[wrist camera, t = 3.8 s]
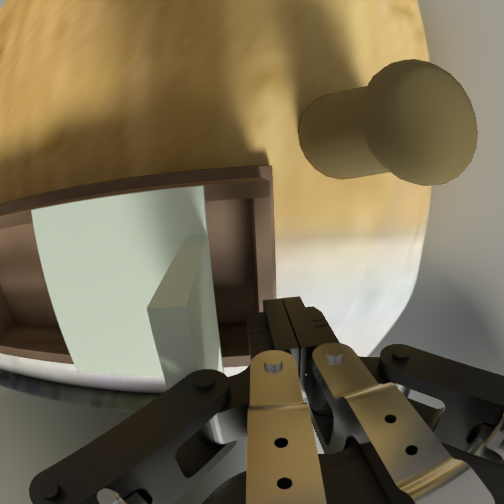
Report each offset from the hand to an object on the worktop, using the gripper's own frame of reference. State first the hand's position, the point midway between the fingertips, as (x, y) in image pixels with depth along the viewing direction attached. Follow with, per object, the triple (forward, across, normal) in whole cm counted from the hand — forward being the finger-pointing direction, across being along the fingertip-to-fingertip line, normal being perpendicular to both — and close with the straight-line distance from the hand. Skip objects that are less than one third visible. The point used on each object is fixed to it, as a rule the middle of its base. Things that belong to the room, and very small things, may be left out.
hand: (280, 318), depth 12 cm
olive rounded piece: (+9, -6, -8) cm, 13 cm away
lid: (+3, +8, 0) cm, 8 cm away
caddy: (+8, +11, 0) cm, 14 cm away
